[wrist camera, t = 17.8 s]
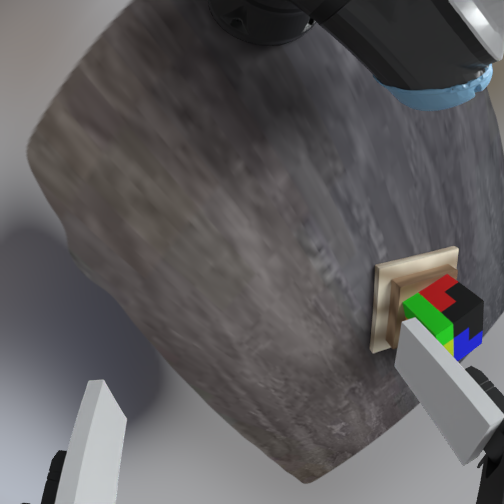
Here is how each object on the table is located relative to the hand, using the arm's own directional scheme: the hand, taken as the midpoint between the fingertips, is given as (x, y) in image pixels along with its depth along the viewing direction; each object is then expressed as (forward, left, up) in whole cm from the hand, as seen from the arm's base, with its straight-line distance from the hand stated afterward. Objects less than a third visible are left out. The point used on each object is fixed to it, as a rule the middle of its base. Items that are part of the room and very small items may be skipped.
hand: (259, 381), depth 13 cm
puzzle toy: (+23, +32, -28) cm, 49 cm away
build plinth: (+23, +32, -33) cm, 51 cm away
